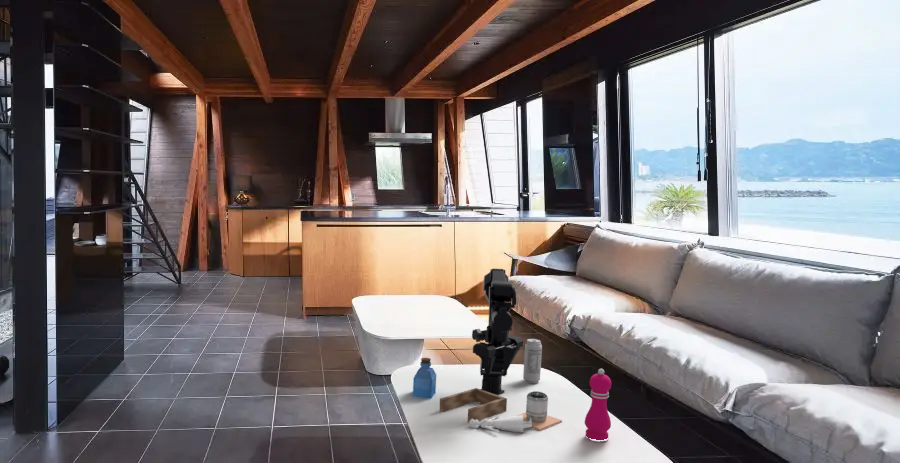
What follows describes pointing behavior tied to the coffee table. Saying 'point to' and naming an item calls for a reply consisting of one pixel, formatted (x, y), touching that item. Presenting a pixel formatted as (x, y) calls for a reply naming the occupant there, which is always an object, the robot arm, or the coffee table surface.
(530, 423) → the woman figurine
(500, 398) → the frame
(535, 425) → the terracotta coaster
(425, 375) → the perfume bottle
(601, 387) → the pepper mill
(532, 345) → the energy drink can
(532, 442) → the coffee table surface
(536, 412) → the camera lens
